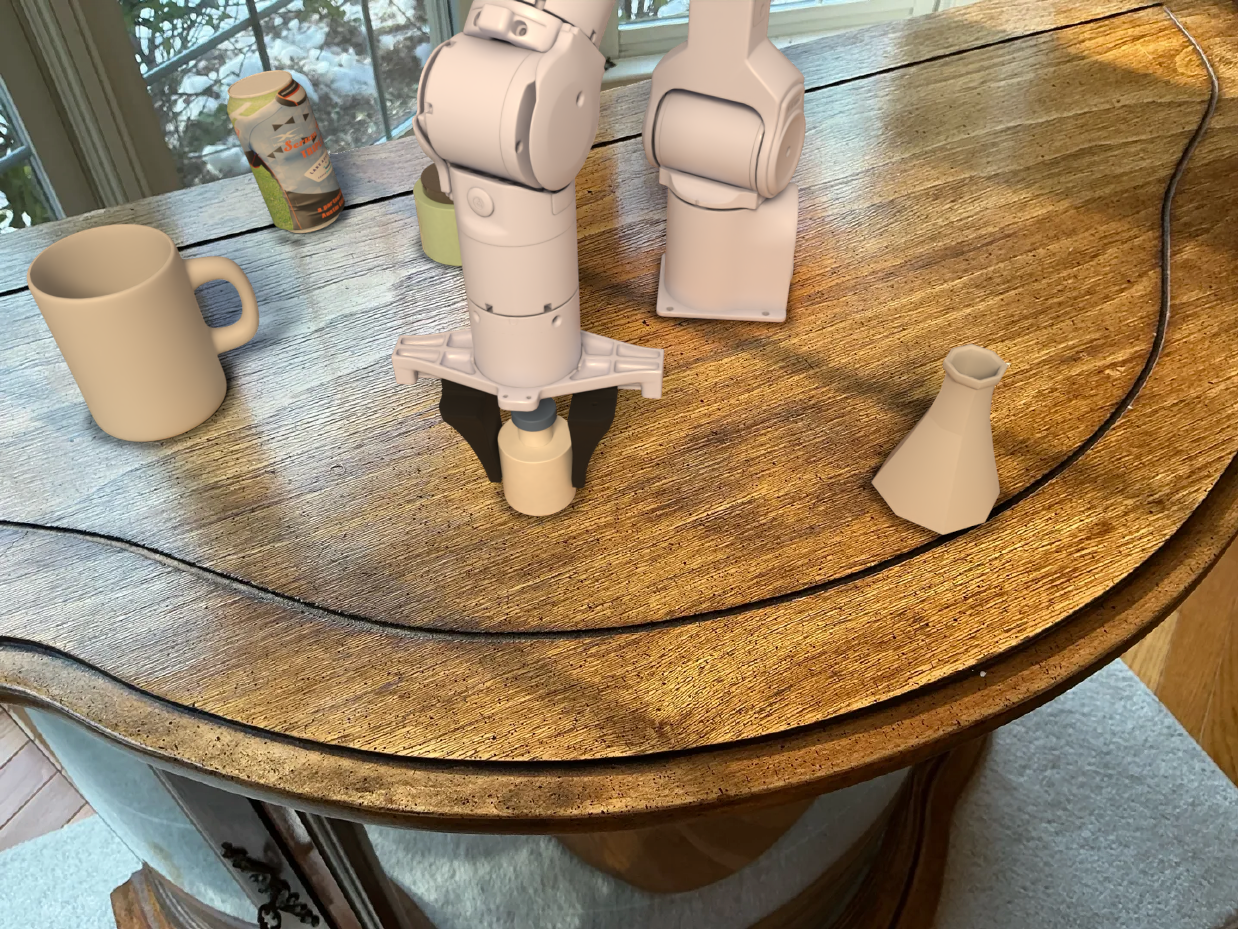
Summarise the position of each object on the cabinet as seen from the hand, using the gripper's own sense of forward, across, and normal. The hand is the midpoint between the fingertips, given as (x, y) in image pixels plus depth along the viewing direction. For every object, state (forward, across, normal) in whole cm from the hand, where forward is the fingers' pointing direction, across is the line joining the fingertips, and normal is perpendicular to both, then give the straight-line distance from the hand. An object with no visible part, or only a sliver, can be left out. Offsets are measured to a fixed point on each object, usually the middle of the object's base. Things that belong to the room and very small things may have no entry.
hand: (538, 473), depth 59 cm
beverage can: (+2, -24, +29) cm, 38 cm away
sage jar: (+1, -10, +27) cm, 29 cm away
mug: (+2, -25, +7) cm, 26 cm away
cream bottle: (+1, 0, 0) cm, 1 cm away
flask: (+2, +24, +2) cm, 24 cm away
